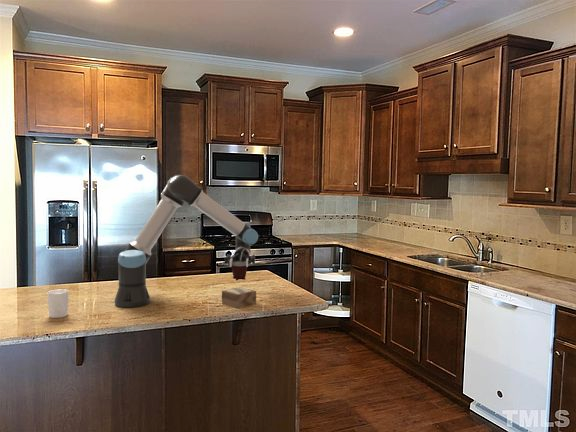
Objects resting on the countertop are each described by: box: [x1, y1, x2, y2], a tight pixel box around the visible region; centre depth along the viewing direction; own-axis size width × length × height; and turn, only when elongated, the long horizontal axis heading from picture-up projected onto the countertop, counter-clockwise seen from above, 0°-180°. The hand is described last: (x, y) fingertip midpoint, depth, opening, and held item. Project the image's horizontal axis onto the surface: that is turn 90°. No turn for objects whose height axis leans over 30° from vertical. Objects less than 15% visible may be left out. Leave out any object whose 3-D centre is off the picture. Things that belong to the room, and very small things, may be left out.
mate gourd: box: [231, 248, 248, 281], centre depth 210 cm, size 8×8×15 cm
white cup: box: [46, 289, 70, 319], centre depth 189 cm, size 8×8×10 cm
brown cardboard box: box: [221, 286, 257, 310], centre depth 212 cm, size 11×11×6 cm
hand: (238, 263), depth 205 cm, fingers closed on mate gourd, 6 cm apart
